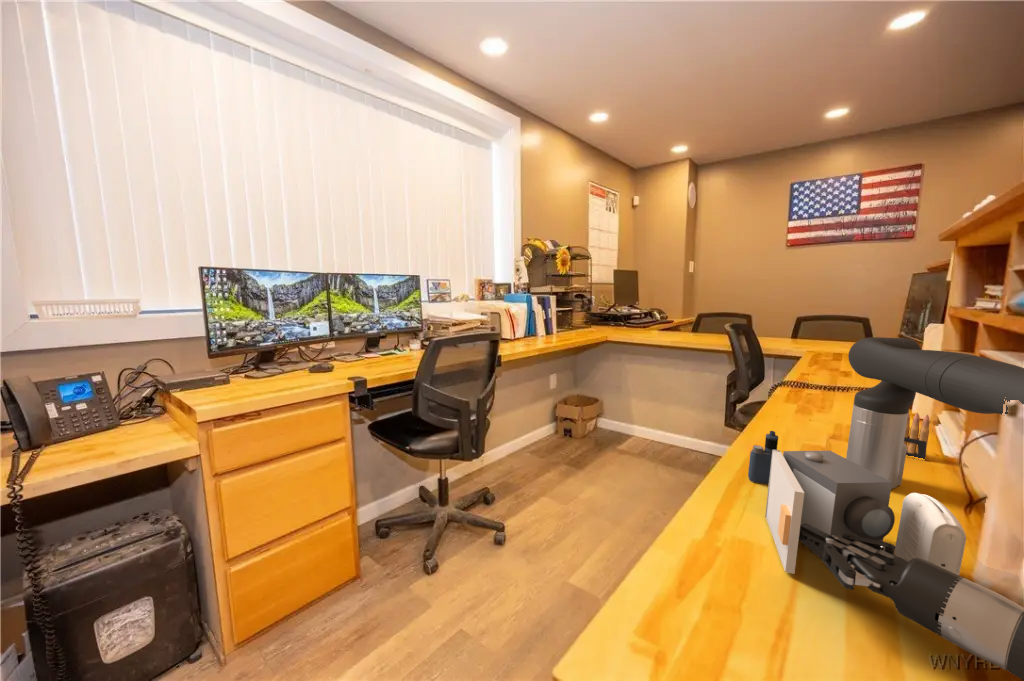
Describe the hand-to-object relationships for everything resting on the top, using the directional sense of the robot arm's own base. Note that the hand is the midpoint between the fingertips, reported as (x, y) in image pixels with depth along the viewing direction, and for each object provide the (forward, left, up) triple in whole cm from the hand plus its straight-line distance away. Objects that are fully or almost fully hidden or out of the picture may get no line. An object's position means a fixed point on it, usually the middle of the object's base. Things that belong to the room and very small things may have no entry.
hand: (800, 529), depth 63 cm
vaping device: (-13, -28, -7) cm, 32 cm away
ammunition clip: (-60, -42, -7) cm, 74 cm away
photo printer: (-19, +2, -7) cm, 21 cm away
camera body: (-11, -6, -7) cm, 14 cm away
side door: (-1, -6, -6) cm, 9 cm away
